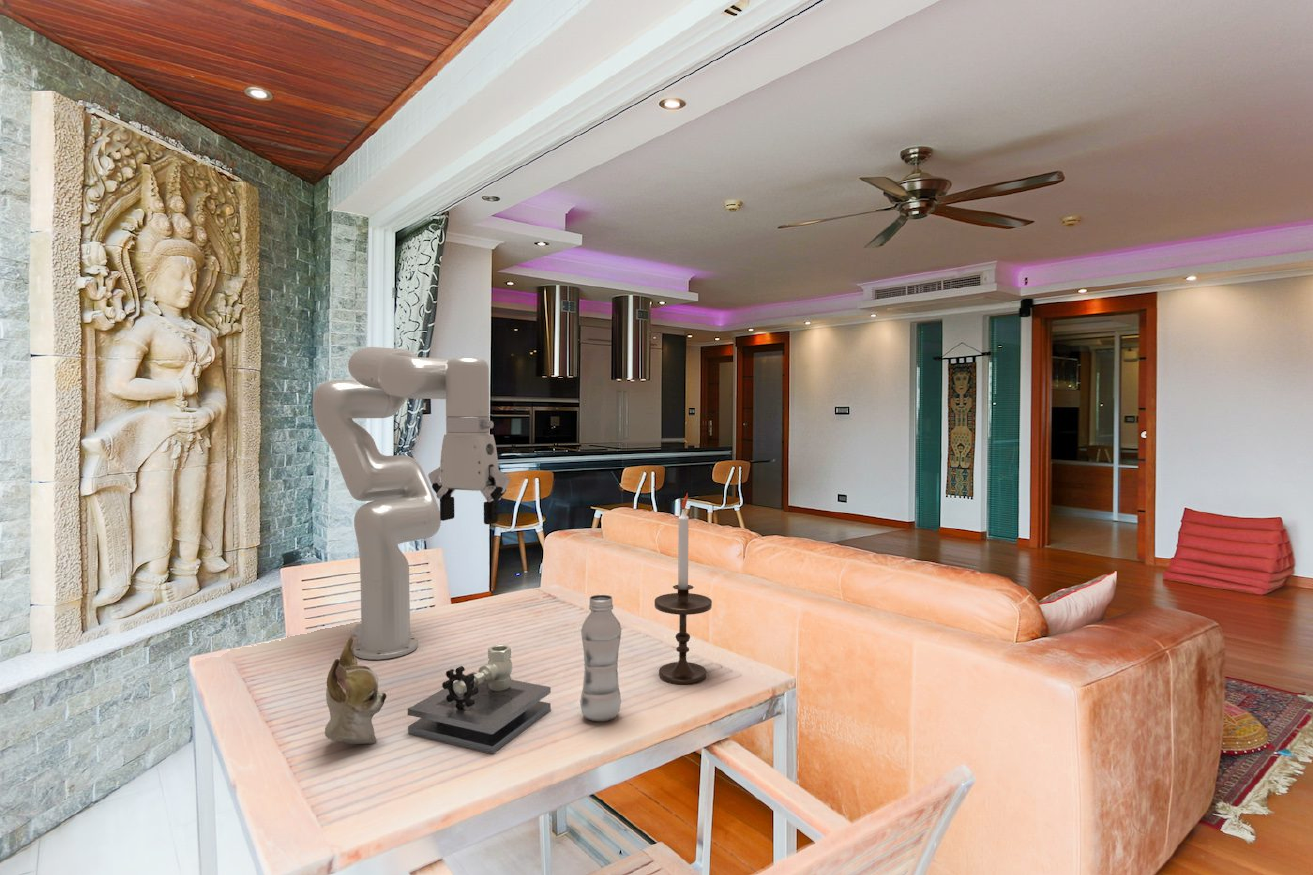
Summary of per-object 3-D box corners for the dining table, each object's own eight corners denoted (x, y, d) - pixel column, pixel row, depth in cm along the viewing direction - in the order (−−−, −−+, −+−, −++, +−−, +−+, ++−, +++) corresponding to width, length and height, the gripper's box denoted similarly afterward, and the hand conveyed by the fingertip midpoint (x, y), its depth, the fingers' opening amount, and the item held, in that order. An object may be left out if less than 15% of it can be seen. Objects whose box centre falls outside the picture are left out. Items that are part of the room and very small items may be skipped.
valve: (492, 678, 119) (442, 705, 109) (492, 641, 119) (441, 664, 108) (523, 685, 116) (474, 714, 106) (523, 647, 116) (474, 671, 105)
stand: (408, 733, 108) (407, 708, 107) (473, 694, 122) (473, 672, 122) (492, 754, 101) (492, 727, 101) (550, 710, 116) (550, 687, 116)
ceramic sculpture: (380, 759, 100) (379, 657, 99) (316, 765, 98) (314, 661, 97) (392, 725, 110) (391, 633, 110) (334, 730, 109) (332, 637, 108)
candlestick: (719, 670, 134) (720, 491, 132) (698, 691, 124) (700, 497, 122) (668, 661, 138) (669, 488, 137) (644, 680, 129) (645, 494, 127)
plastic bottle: (580, 709, 116) (580, 592, 115) (620, 708, 117) (620, 591, 116) (579, 727, 110) (579, 603, 109) (622, 725, 110) (622, 602, 110)
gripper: (520, 427, 124) (520, 521, 125) (443, 425, 131) (444, 515, 132) (494, 428, 117) (495, 528, 118) (415, 426, 124) (416, 521, 125)
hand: (468, 521), depth 125 cm, fingers open, 9 cm apart
